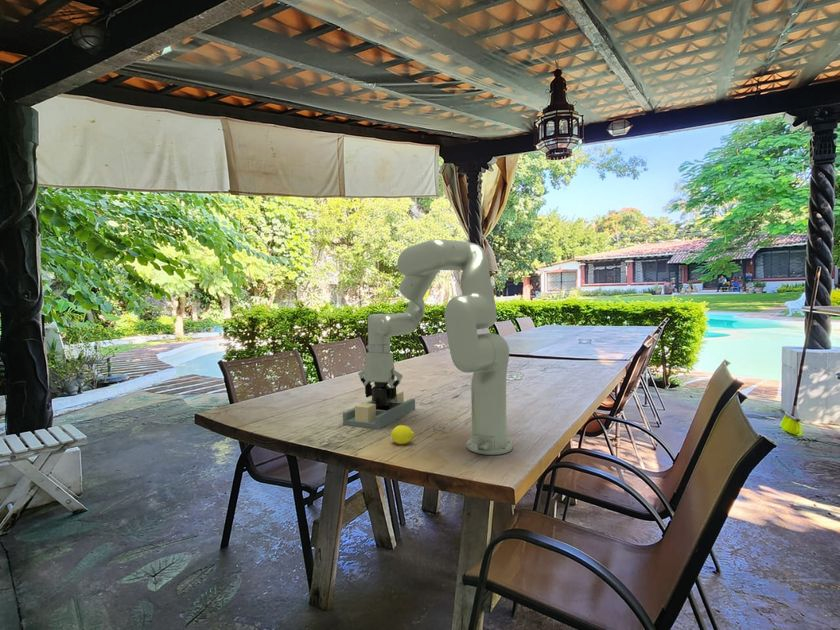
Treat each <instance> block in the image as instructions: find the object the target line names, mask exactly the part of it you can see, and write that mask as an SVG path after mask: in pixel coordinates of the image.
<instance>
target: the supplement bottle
mask: <svg viewBox="0 0 840 630" xmlns="http://www.w3.org/2000/svg"><path fill="white" fill-rule="evenodd" d="M373 384H374V386H372V396H371V401H372V404H376V409H377V410H386V411H387V410H389V409H391V399H390V391H389V389H390V388H391V387H390V385H389V384H388V382H387V383H380V382H373Z"/></svg>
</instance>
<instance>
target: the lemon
mask: <svg viewBox="0 0 840 630" xmlns="http://www.w3.org/2000/svg"><path fill="white" fill-rule="evenodd" d="M414 435H415V432H414V431H413V430H412V429H411V427H409V426H408V425H403V424H399V425H397V426H395V428H393V429H392V431H391V433H390V437H391V439H392V440H393V442H395V443H396V444H397V445H406V444H408V443H409V442H411V440H412V438H413V437H414Z"/></svg>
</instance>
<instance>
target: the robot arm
mask: <svg viewBox="0 0 840 630" xmlns="http://www.w3.org/2000/svg"><path fill="white" fill-rule="evenodd" d="M489 265H490V264H489V258H488V255H487V252H486V251H485V250H484V248H482V246H480V245H478V244H477V243H474V242H469V241H464V240H463V241H462V240H452V239H451V240H449V239H442V238H441V239H438V238H437V239H430V240H425V241H423V242H421V243H417V244H414V245H412V246H411V245H410V246H407V248H405V249H403V250H402V251H401V252H400V253H399V255H398V259H397V269H398V271H399V273H400V274H402V275H403V276H404V277H403V278H402V281H401V282H400V284H399V288H398V289H399V292H400V293H401V295H402V296H403V297H404V298H405V299H407V300H408V301H410V302H409V304H408V306H407V308H406V309H405V311H404V312H396V313H394V312H393V313H373V314H369V315H368V317H367V336H368V338H367V339H368V340H367V341H368V344H367V345H365V349H366V350H367V351H368V352H366V355H365V361H364V369H362V370H361V371H359V372H358V376H359V379H360V382H361V383H362V384H363V386H364V392H365V393H364V394H365V398H370V397H372V388H373V386H372V384H371V383H374V382H380V383H387V382H388V386H389V387H390V389H389V391H390V399H391V400H392V399H394V398H396V391H397V387H398V386H399V385H400V383H401V381H402V380H403V377H404V376H403V374H402V373H400V372H398V371H397V370H396V369H395V362H394V356H393V353H392V352H391V337H395V336H405V335H409V334H411V333H413V332H414V331H416V329H417V328H418V327H419V325H420V323H421V321H422V320H423V317H424V315H425V301H424V297H425V295H426V294H427V292H428V291H429V289H430V287H431V286H432V283H433V281H434V280H435V278H436V277H437V275H438V273H439V271H462V272H461V274H460V275H461V276H460V281H459V283H460V284H459V285H460V286H459V287H460V289H461V295H457V296H454V297H452V298H451V299H450V300H448V302H447V304H446V306H445V309H444V317H443V318H444V325H445V326H444V327H445V331H446V337H447V343H448V347H449V353H450V358H451V360H452V363H453V365H454V366H455V368H456V369H457V370H459V371H461V372H463V373H468V374H469V373H470V374H471V373H472V378H471V382H470V383H471V384H470V385H471V387H470V388H471V389H470V390H471V391H470V392H471V396H470V397H471V438H469V439H468V440H466V448H467V449H468V450H469V451H470V452H472V453H476V454H479V455H484V456H485V455H487V456H495V455H503V454H506V453H509V452H511V451H512V450H513V448H514V447H513V442H512V441H510V440H509V439H508V437H507V436H508V435H507V426H508V425H507V424H508V423H507V373H508V371H507V370H508V365H509V360H510V359H509V358H510V348H509V345H508V342H507V340H506V339H505V338H504V337H503V336H501V335H500V334H497V333H493V332H487V333H486V332H485V333H479V334H478V331H477V330H484V329H489V328H490V327H492V326H493V325H495V323H496V322H497V318H498V317H497V316H498V313H497V307H496V300H495V296H494V288H493V284H492V282H491V281H492V279H491V276H490V275H491V274H490V266H489ZM395 377H396V380H395Z"/></svg>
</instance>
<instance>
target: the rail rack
mask: <svg viewBox="0 0 840 630" xmlns="http://www.w3.org/2000/svg"><path fill="white" fill-rule="evenodd" d="M404 395H405V394H404V390H403V391H401V390H396V398H394V399H392V400H391V409H389V410H387V411H386V410H377V409H376V404H372V400H369V401H367V402H362V403H358V404H356V405H355V406H354V407H353V408H351V409H349V410H346V411H344V412H342V425H343V426H349V427H359V428H364V429H365V428H366V429H373V430H381V429H383V428H385V427H387V426H389V425H390V424H392V423H394V422H395V420H396V421H398V420H400V418H403V417H404V415H405V416H406V415H408V414H410V413H412V412H413V411H416V398H409V399H407V400H406V401H404V400H405V399H404ZM411 411H412V412H411ZM393 421H394V422H393ZM386 425H387V426H386ZM384 426H385V427H384Z"/></svg>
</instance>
